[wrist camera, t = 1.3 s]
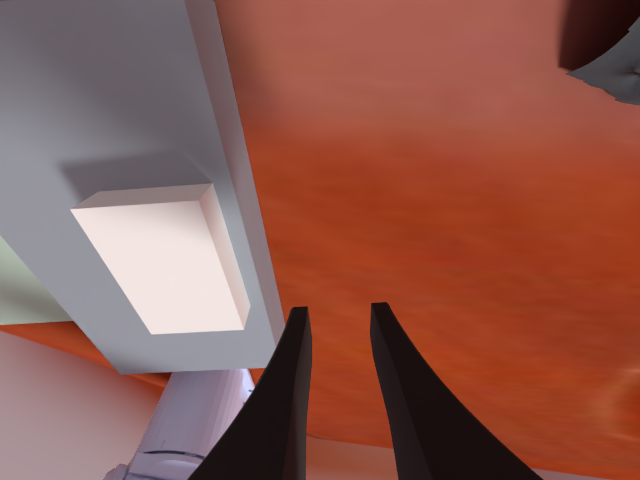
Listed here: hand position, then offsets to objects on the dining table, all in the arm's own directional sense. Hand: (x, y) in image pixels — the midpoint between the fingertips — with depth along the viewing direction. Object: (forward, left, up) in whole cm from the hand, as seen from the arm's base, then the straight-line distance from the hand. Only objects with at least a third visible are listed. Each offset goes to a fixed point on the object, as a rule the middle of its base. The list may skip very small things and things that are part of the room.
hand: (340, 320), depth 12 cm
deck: (0, +12, -9) cm, 15 cm away
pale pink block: (0, +9, -5) cm, 10 cm away
